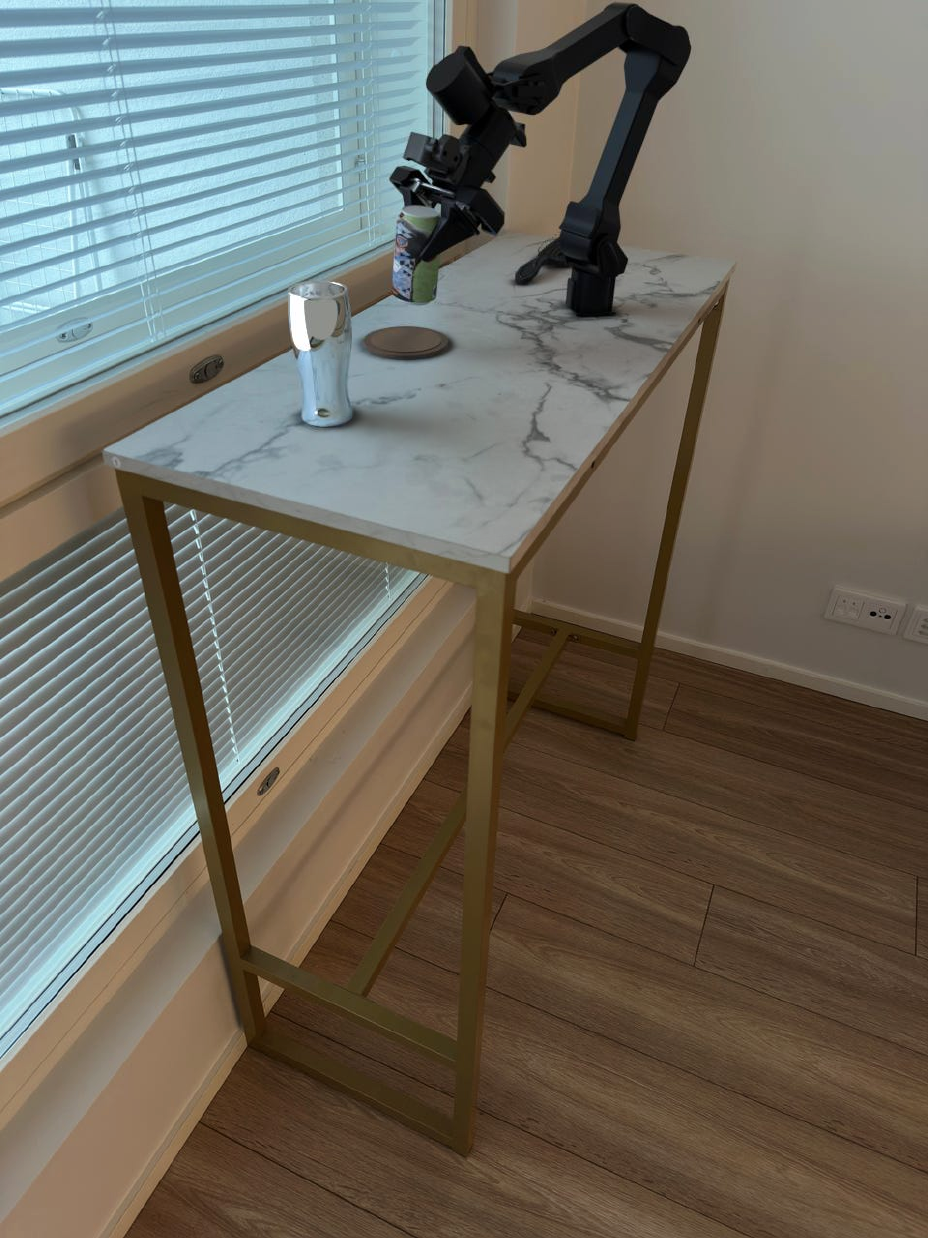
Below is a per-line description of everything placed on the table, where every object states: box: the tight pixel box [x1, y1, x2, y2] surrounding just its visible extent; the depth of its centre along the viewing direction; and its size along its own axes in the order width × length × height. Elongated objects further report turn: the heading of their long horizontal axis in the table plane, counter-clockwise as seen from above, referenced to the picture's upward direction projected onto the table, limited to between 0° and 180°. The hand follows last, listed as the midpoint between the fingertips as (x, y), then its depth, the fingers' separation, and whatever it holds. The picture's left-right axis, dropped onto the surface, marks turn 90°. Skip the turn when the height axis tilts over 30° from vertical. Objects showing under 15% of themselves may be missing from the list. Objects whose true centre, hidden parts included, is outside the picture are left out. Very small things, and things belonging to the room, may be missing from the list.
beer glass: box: [287, 280, 354, 428], centre depth 104 cm, size 7×7×15 cm
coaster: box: [363, 325, 449, 361], centre depth 129 cm, size 12×12×1 cm
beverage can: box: [391, 205, 441, 307], centre depth 119 cm, size 6×7×12 cm
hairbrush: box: [514, 233, 569, 286], centre depth 161 cm, size 8×4×25 cm
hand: (409, 254), depth 118 cm, fingers closed on beverage can, 5 cm apart
